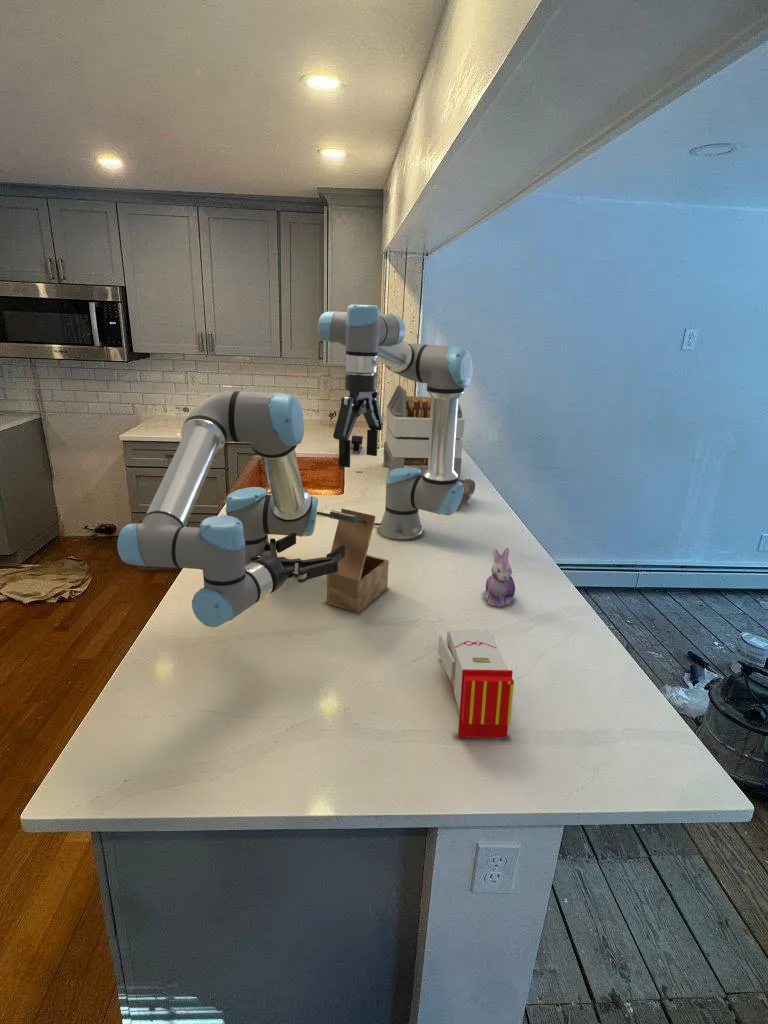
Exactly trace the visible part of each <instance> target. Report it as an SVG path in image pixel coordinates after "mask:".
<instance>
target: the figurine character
mask: <svg viewBox="0 0 768 1024" xmlns="http://www.w3.org/2000/svg"><path fill="white" fill-rule="evenodd" d="M363 439H364V436H363V435H351V449H350V451H352V454H355V453H357V454H360V451H362V450H363V449H364V447H363Z"/></svg>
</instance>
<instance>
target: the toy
mask: <svg viewBox="0 0 768 1024" xmlns="http://www.w3.org/2000/svg"><path fill="white" fill-rule="evenodd" d="M446 640H447V643H446V641H445V639H444V636H443V635H442V634H439V637H438V646H437V656H438V657H439V659H440V661H441V663H442V666H443V668H444V670H445V672H446V674H447V677H448V679H449V681H450V684H451V687H452V690H453V693H454V697H455V701H456V705H457V708H458V711H459V714H458V715H459V716H458V730H457V731H458V732H457V737H458V738H508V731H509V726H510V725H511V717H512V707H513V697H514V696H513V695H514V684H515V680H514V679H513V673H514V671H513V670H512V669H508V667H507V665H506V662H505V661H504V659H503V658H502V655H501V653H500V651H499V649H498V647H497V643H496V639H495V637H494V635H493V634H491V632H490V631H489V629H467V628H466V629H465V628H463V629H461V628H460V629H459V628H448V630H447V639H446Z"/></svg>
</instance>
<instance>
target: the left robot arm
mask: <svg viewBox="0 0 768 1024" xmlns="http://www.w3.org/2000/svg"><path fill="white" fill-rule="evenodd" d="M304 434H305V421H304V411H303V408H302V405H301V402H300V400H299V399H298V398H297V396H295V395H293V394H291V393H283V392H279V391H277V392H269V391H268V392H265V391H242V390H241V391H239V390H225V391H221V392H218V393H215V394H213V395H211V396H210V397H208V398H206V399H204V400H203V401H202V402H201V403H199V404H198V405H197V406H196V407H195V408H194V409H193V410H192V411H191V412H190V413H189V415H188V416H187V417H186V418H185V420H184V422H183V424H182V427H181V429H180V435H181V441H179V444H178V447H177V449H176V451H175V453H174V454H173V456H172V459H171V461H170V463H169V465H168V467H167V470H166V472H165V474H164V476H163V477H162V480H161V482H160V484H159V486H158V487H157V488H158V489H157V490H156V493H155V495H154V497H153V498H152V501H151V503H150V505H149V507H148V510H147V511H146V513H145V515H144V517H143V519H142V520H141V523H138V522H135V523H128V524H126V525H125V526H123V527H122V528H121V529H120V532H119V534H118V537H117V553H118V555H119V557H120V560H121V561H122V562H123V563H125V564H127V565H133V566H141V567H145V568H146V567H159V568H160V567H161V568H178V569H193V570H202V575H203V587H201V588H199V590H198V591H196V592H195V593H194V595H193V598H192V600H191V609H192V612H193V614H194V616H195V618H197V620H198V621H199V622H200V623H201V624H203V625H204V626H206V627H209V628H218V627H220V626H222V625H223V624H226V623H228V622H230V621H232V620H234V619H235V618H236V617H238V616H239V615H240V614H242V613H243V612H245V611H246V610H247V609H249V608H250V607H253V606H255V605H256V604H257V603H258V602H260V601H261V600H263V599H265V598H267V597H269V596H270V595H272V594H273V593H275V592H276V591H278V590H279V589H281V588H282V587H283V586H284V584H285V583H286V581H287V580H289V579H293V578H296V579H297V583H300V584H302V583H304V582H307V581H309V580H311V579H315V578H319V577H324V576H327V574H331V573H335V572H338V562H340V561H341V559H342V558H343V557H345V545H341V546H340V547H338V548H337V549H335V550H333V551H332V552H331V551H330V552H329V553H327V554H326V556H325V557H323V556H322V557H315V558H308V559H301V557H300V558H299V557H298V558H286V557H285V556H278V553H279V554H280V553H282V552H284V551H286V550H288V549H289V548H291V547H293V546H295V545H296V544H297V537H300V538H302V537H311V536H312V535H314V533H315V528H316V522H317V515H318V514H317V512H318V508H319V507H318V505H319V499H318V497H317V496H312V495H310V493H309V492H308V490H307V489H306V488H304V486H303V482H302V481H303V480H302V477H301V472H300V471H301V470H300V467H299V462H298V458H297V453H296V449H297V447H298V445H300V444H301V443H302V441H303V439H304ZM227 443H242V444H250V448H251V449H252V451H253V452H254V453H255V454H256V455H257V456H259V457H260V459H261V462H262V465H263V469H264V472H265V475H266V479H267V483H268V486H269V489H270V493H271V494H268V491H267V489H266V488H265V487H261V486H252V487H251V486H250V487H244V488H240V489H236V490H234V491H232V492H230V493H229V494H228V495H227V497H226V499H225V500H226V502H225V503H226V504H225V505H226V506H225V513H226V515H213V516H212V515H211V516H209V517H207V518H205V519H203V520H201V522H200V524H199V527H196V526H187V524H188V522H189V519H190V516H191V514H192V512H193V509H194V508H195V505H196V503H197V500H198V498H199V496H200V493H201V490H202V488H203V485H204V484H205V481H206V478H207V476H208V474H209V472H210V469H211V467H212V465H213V462H214V459H215V456H216V454H217V453H219V452H220V451H222V450H223V448H224V447H225V445H226V444H227ZM269 535H275V536H284V537H281V538H279V539H277V540H276V538H273V537H272V538H270V539H269ZM296 564H297V570H296Z"/></svg>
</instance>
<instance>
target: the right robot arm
mask: <svg viewBox="0 0 768 1024" xmlns="http://www.w3.org/2000/svg"><path fill="white" fill-rule="evenodd" d="M317 332H318V335H319V337H320V339H321V340H322V341H324V342H328V343H333V344H334V343H337V344H341V345H343V346H345V360H344V361H345V362H344V363H345V364H344V372H346V374H345V376H344V389H345V390H346V391H348V392H349V395H348V396H342V397H341V399H340V407H339V408H340V409H339V412H338V415H337V419H336V423H335V427H334V430H333V434H332V438H334V439H335V440H338V466H339V467H342V468H349V469H350V468H351V440H352V439H351V440H350V437H351V434H352V432H353V429H354V427H355V424H356V422H357V420H358V418H359V417H361V415H363V417H364V420H365V422H366V424H367V427H368V429H367V430H366V455H367V456H372V457H377V456H378V443H379V440H378V439H379V431H383V425H384V422H383V417H382V411H381V407H380V402H379V392H378V391H377V385H378V384H377V383H378V382H377V380H378V376H377V375H376V373H377V372H378V365H379V363H380V364H383V365H384V366H385V367H386V368H387V369H388V370H389V371H390V372H391V373H394V374H396V375H398V376H400V377H402V378H404V379H407V380H410V381H412V382H414V383H415V382H416V383H420V384H426V392H427V393H428V395H430V397H431V412H430V431H429V451H428V466H427V468H426V470H424V471H423V472H422V470H421V468H419V467H413V466H411V467H409V466H406V467H404V468H397V469H393V470H391V471H390V470H389V471H388V473H387V475H386V480H385V504H384V505H385V507H384V508H385V509H384V513H383V515H382V519H381V522H374V526H378V533H379V534H380V535H381V536H382V537H385V538H387V539H389V540H395V541H410V540H415V539H418V538H420V537H421V536H422V535H423V525H422V524H421V518H420V515H419V510H421V511H425V512H429V513H433V514H437V515H442V516H452V515H453V514H454V513H456V511H457V510H458V509H457V508H458V507H459V505H460V502H461V500H462V496H463V492H464V487H463V484H462V483H461V482H458V474H457V473H456V472H455V471H454V459H455V445H456V430H457V415H458V402H460V401H459V398H460V397H461V396H462V395H463V394H464V393H465V389H466V388H468V387H469V386H470V384H471V382H472V378H473V373H474V369H473V368H474V367H473V360H472V356H471V354H470V352H469V351H468V350H467V349H466V348H464V347H458V346H454V345H438V344H424V343H409V342H406V341H404V339H405V337H406V332H407V327H406V323H405V321H404V319H402V318H401V316H399V315H397V314H393V313H380V308H379V306H378V305H376V304H356V303H353V304H352V303H351V304H349V305H348V306H347V308H346V311H337V310H334V311H325V312H323V313H322V314H321V315H320V317H319V319H318V324H317ZM317 515H322V516H326V517H330V513H326V512H321V511H317Z"/></svg>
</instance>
